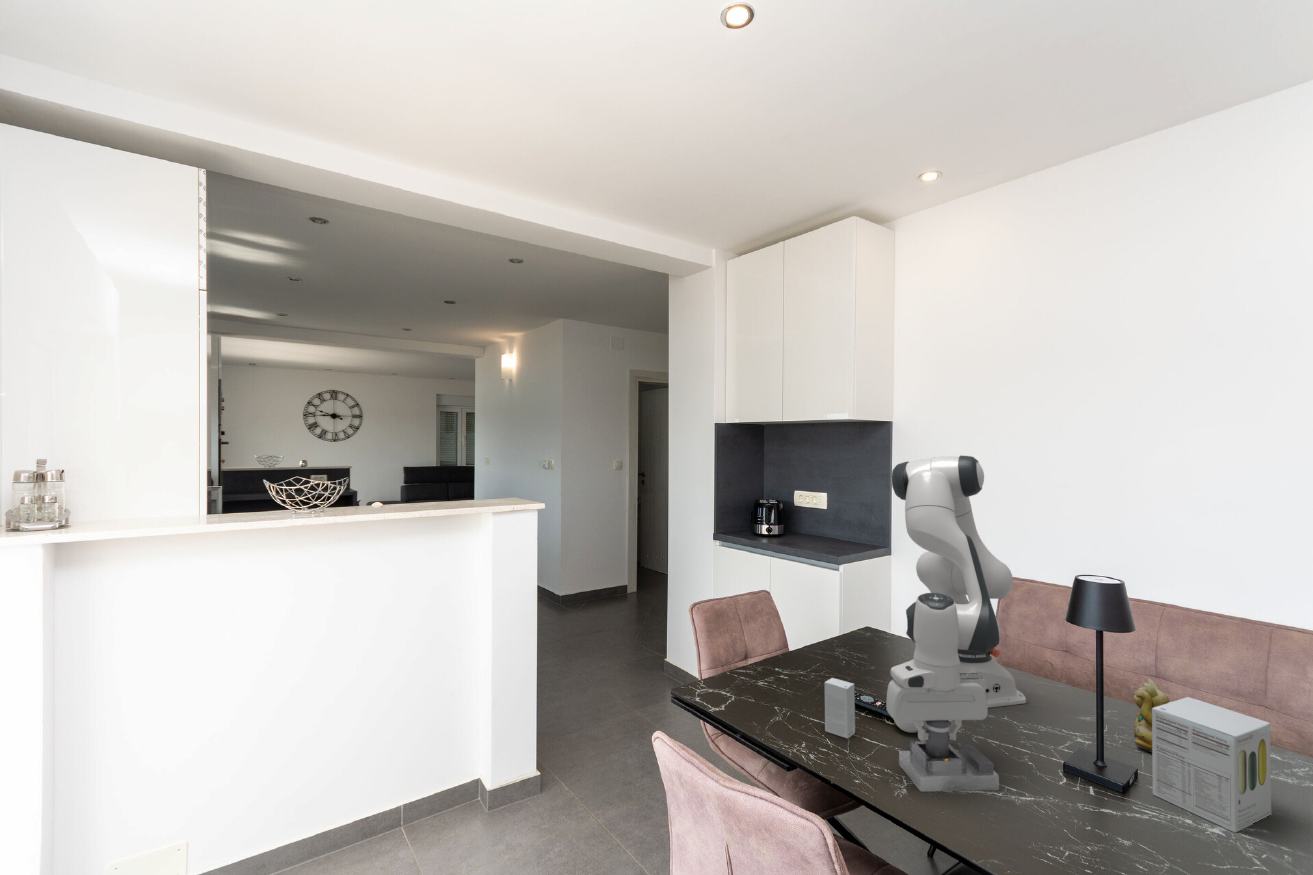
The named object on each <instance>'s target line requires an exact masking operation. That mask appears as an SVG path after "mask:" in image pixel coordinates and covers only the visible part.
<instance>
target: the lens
mask: <svg viewBox="0 0 1313 875" xmlns="http://www.w3.org/2000/svg"><path fill="white" fill-rule="evenodd" d="M949 722H950V720H933V721H925V723H924V727H925V728H924V729H925V730H926V731H927V732H928V733H929V737H928V738H929V740H928V741H926V754H927V755H928V757H929V758H930V759H938V758H944V757H946V758H949V744H950V743H949V742H950V741H949V727H950V725H949Z"/></svg>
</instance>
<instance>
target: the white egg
mask: <svg viewBox="0 0 1313 875" xmlns="http://www.w3.org/2000/svg"><path fill="white" fill-rule="evenodd" d="M893 720H894V719H893ZM894 723H895V724H896V726H897V727H898V728H899V729H900V730H901V731H904V732H905V733H918V729H917V728H916V726H915V724H914V723H913V721H896V720H894ZM921 727H922V728H924V727H925V721H924V723H923V725H921Z"/></svg>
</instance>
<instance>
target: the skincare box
mask: <svg viewBox="0 0 1313 875" xmlns="http://www.w3.org/2000/svg"><path fill="white" fill-rule="evenodd" d="M855 698H856V697H855V683H852V682H849V681H847V680H841V679H839V678H834V677H831V678H830V679H827V680H826V681H824V731H825V732H826V733H830V734H833V735H835V736H839V737H841V738H845V739H849V738H851V737H852V736H854V735H855V733H856V711H855V710H856V706H855V705H856V704H855V701H856V700H855Z"/></svg>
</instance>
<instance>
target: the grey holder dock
mask: <svg viewBox="0 0 1313 875" xmlns="http://www.w3.org/2000/svg"><path fill="white" fill-rule="evenodd" d="M909 748H910V749H909V750H898V765H899V767H900V768H901V769H902V770H903V771H904V773H905V774H906V775H907V776H908V778H909V779H910V780H911V782H912V783H913V784H914V785H915V787H916V788H917V789H918V790H919V791H920V792H923V793H925V792H969V791H970V792H971V791H972V792H973V791H975V792H976V791H978V792H979V791H980V792H981V791H999V790H1000V775H999V774H998V773H997V772H996V771H995V770H994V763H993V762H992V761H991V760H990V759H989V758H988V757H987V756H986V755H984V754H983V753H982V752H981V751H980V750H979V749H978V748H977V747H976V746H974V745H973V744H972V743H960V744H959V743H958V744H957V749H955V748H954V747H953V746H952V745H951V744H950V743H949V758H946V757H944V758H938V759H930V758H929V757H928V755H927V754H926V741H921V740H920V741H909Z"/></svg>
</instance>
